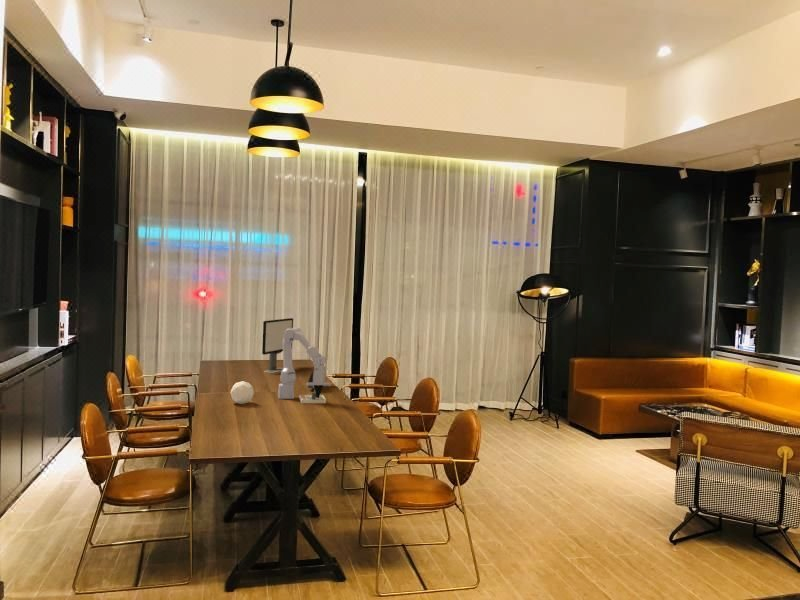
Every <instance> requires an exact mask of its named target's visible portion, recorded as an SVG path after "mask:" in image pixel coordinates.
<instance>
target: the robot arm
mask: <svg viewBox="0 0 800 600" xmlns="http://www.w3.org/2000/svg"><path fill="white" fill-rule="evenodd" d="M294 341H298V342H299V343H300V344H301V345H302V346H303V347H304V348H305V349H306V353H307V355H308V356H309V357H310V359H311V360H312V363H313V370H314V382H309V381H308V382H305V383H306V384H305V385H306V387H308V386H314V388H313V389H314V390H315V392H316V397H317V398H319V396H320V395H321V393H322V390H323V389H324V387H331V382H328V381H327V382H326V381H325V382H323V374H324V366H325V364H326V362H327V361H326V360H327V359H326V357H325V355H322V354H321V353H320V352H319V351H318V350H317V347H316V346H312V345H311V343H310V342H309V341H308V339H307V338H306V336H305V335H304V332H303V331H302V329H300V327H293V328H291V329H290V328H289V329H287V330H286V331H285V332H284V337H283V340H282V342H283V351H282V361H283V368H284V369H283V370H282V371H280V377H279V380H280V383H278V391H277V397H278V399H280V400H281V399H283V400H284V399H285V400H286V399H290V400H291V399H292V400H293V399H295V396H294V390H295V389H294V385H295V382H296V380H297V374H296V371H295V369H294V368H293V343H294ZM291 343H292V345H291Z"/></svg>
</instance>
